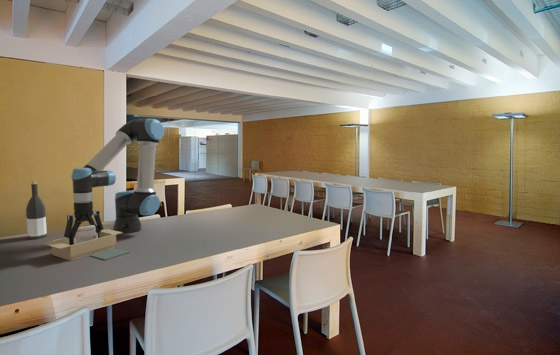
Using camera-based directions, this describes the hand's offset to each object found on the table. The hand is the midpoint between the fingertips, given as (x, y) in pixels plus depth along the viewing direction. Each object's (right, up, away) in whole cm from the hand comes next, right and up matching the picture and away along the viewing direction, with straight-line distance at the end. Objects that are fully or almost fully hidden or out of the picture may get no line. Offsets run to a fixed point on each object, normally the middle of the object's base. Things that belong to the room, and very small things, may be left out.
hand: (85, 248), depth 150 cm
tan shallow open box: (0, -1, 0) cm, 1 cm away
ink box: (0, -1, 0) cm, 1 cm away
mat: (+14, -2, -4) cm, 14 cm away
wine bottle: (-38, +1, +21) cm, 43 cm away
